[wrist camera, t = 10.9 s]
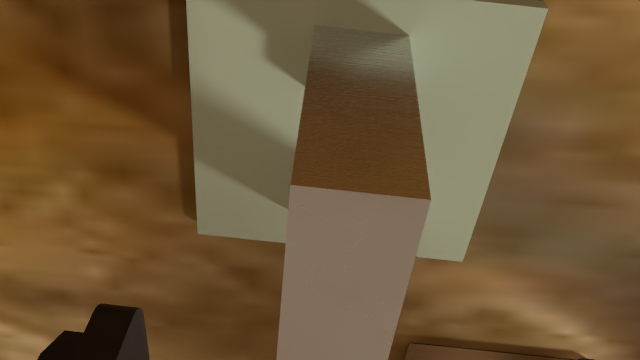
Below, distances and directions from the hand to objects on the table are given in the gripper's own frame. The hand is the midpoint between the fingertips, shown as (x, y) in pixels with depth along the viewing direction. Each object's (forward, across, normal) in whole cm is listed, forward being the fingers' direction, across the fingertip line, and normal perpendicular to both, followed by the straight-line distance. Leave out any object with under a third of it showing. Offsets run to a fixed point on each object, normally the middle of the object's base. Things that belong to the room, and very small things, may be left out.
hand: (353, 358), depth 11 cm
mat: (+12, 0, +3) cm, 12 cm away
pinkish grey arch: (+11, 0, +2) cm, 11 cm away
